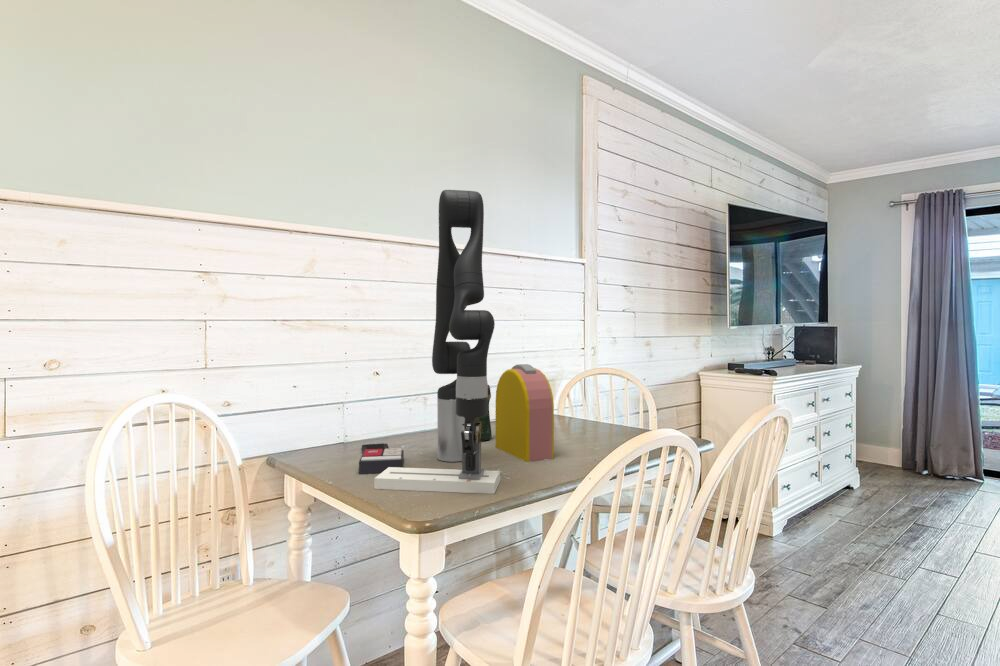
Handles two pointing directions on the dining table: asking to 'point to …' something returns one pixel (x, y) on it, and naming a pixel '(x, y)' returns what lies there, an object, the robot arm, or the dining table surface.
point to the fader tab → (478, 471)
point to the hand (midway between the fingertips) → (471, 468)
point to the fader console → (435, 480)
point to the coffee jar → (486, 422)
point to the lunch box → (525, 414)
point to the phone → (374, 447)
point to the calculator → (380, 460)
